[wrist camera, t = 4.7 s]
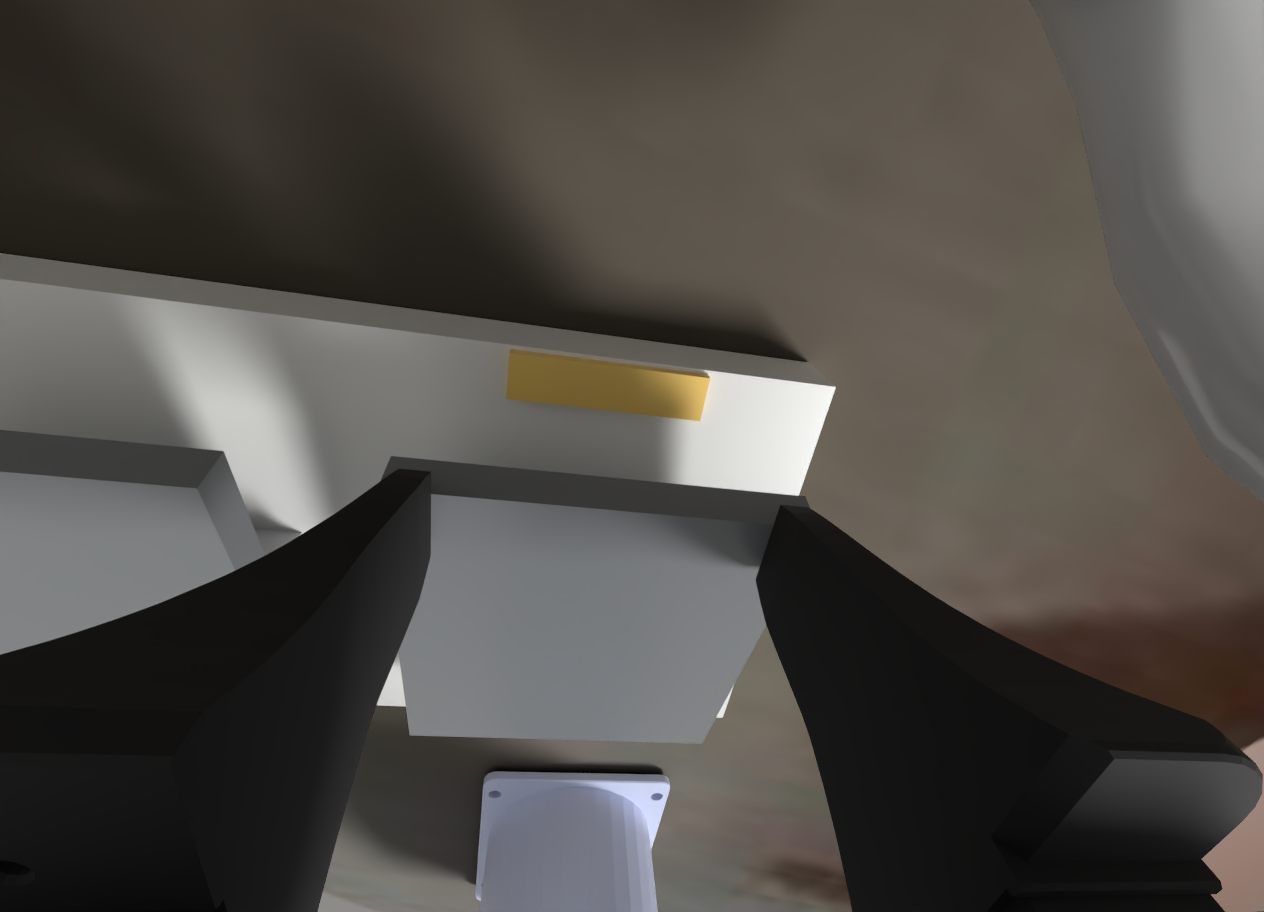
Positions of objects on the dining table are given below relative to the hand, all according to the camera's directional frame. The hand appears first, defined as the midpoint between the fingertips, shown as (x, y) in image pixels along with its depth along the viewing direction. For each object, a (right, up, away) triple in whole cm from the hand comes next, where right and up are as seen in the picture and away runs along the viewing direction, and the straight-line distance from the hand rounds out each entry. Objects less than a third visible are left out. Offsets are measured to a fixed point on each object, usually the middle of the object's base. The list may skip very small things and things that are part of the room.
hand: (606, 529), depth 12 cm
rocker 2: (-1, -3, +4) cm, 5 cm away
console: (-7, 0, +6) cm, 9 cm away
